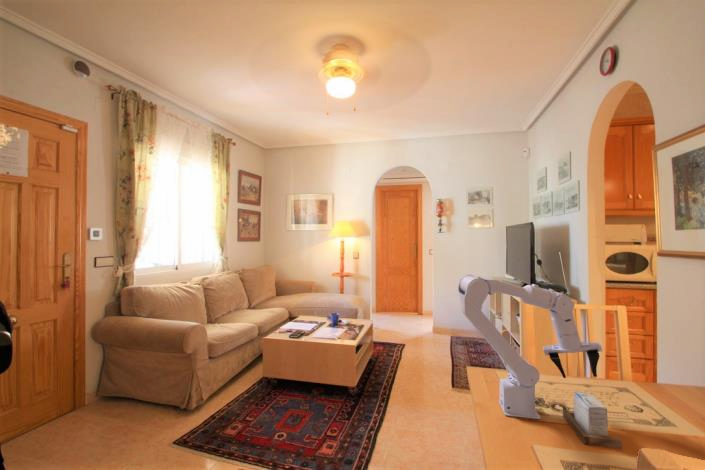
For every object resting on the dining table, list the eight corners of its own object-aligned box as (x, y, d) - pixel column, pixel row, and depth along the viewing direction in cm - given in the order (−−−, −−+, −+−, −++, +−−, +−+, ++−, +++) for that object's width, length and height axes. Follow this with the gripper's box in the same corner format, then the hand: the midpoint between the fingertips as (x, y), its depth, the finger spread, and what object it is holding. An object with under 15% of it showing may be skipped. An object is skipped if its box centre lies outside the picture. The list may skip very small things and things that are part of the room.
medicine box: (608, 442, 80) (608, 408, 80) (589, 440, 81) (588, 406, 81) (591, 424, 87) (591, 393, 87) (573, 422, 88) (573, 391, 88)
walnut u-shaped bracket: (584, 444, 79) (584, 436, 79) (562, 416, 91) (562, 409, 91) (622, 449, 77) (621, 441, 77) (595, 420, 89) (595, 413, 89)
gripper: (591, 323, 94) (604, 367, 94) (537, 329, 100) (549, 370, 100) (598, 332, 88) (612, 379, 87) (540, 338, 94) (552, 382, 94)
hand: (579, 375), depth 93 cm, fingers open, 7 cm apart
